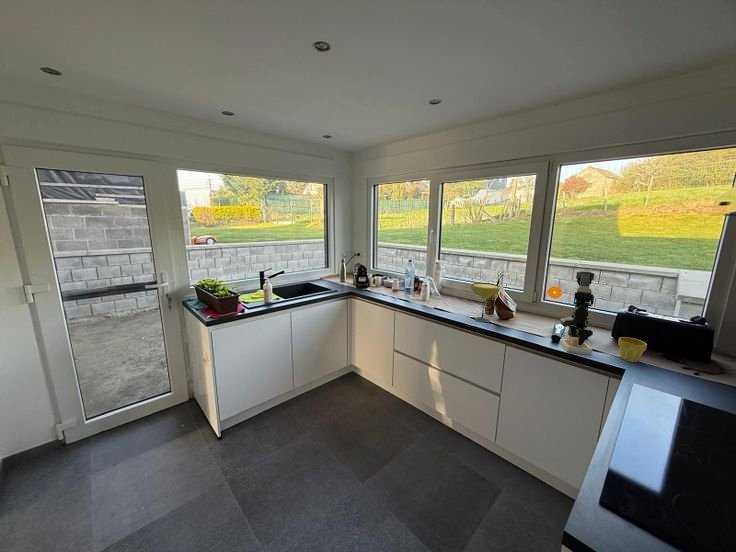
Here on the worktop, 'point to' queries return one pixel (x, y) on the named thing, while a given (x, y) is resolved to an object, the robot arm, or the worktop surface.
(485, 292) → the cocktail glass
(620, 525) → the worktop surface
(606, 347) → the worktop surface
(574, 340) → the terracotta block
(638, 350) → the plant pot
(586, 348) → the sage tray
